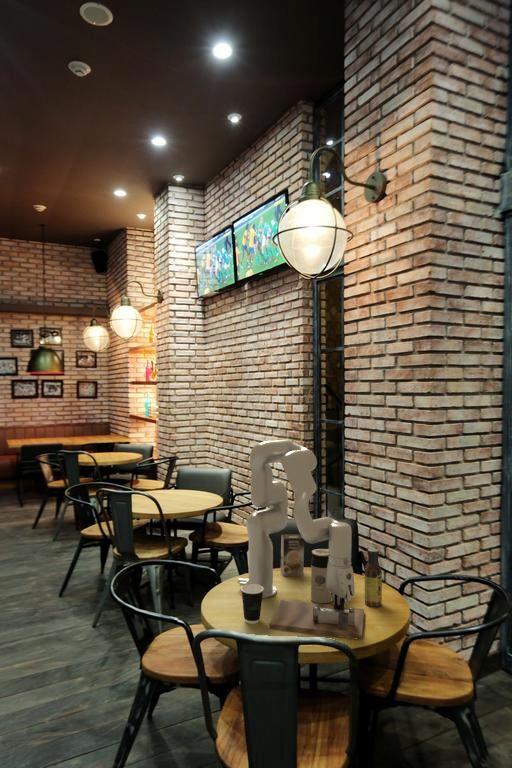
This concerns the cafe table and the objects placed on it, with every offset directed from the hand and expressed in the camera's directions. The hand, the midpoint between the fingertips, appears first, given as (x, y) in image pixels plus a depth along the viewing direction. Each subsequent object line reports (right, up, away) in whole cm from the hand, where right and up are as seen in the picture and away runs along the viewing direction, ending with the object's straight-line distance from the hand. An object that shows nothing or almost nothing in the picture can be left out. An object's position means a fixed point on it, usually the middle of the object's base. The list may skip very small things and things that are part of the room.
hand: (338, 614), depth 171 cm
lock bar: (-2, -1, -3) cm, 4 cm away
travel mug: (-3, -4, +21) cm, 21 cm away
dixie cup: (-29, -3, +2) cm, 30 cm away
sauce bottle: (+15, -4, +17) cm, 23 cm away
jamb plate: (-7, -3, +3) cm, 8 cm away
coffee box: (-12, -4, +48) cm, 50 cm away
